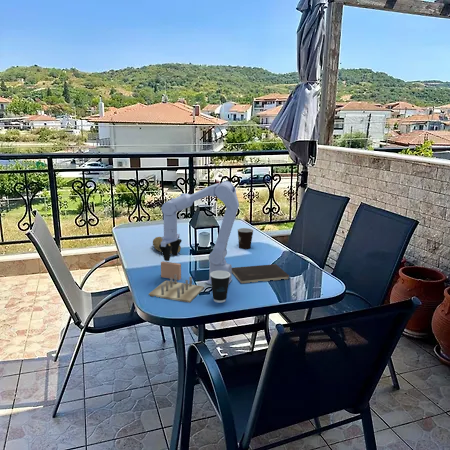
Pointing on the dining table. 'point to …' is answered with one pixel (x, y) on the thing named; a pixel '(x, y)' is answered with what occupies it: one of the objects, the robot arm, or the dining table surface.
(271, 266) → the hardcover book
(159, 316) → the dining table surface
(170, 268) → the brown rectangular block
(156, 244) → the sponge
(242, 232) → the coffee mug
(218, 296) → the dixie cup
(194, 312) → the dining table surface
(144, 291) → the dining table surface
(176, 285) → the dish rack
